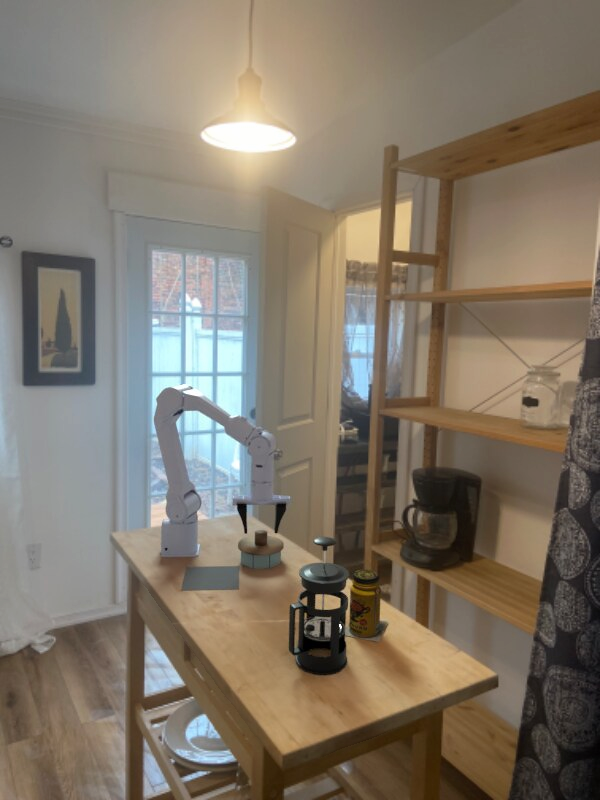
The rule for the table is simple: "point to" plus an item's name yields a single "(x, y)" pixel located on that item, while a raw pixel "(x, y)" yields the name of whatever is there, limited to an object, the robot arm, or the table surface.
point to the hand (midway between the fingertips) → (260, 532)
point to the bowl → (260, 560)
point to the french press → (320, 616)
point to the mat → (211, 578)
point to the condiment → (365, 607)
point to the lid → (260, 544)
